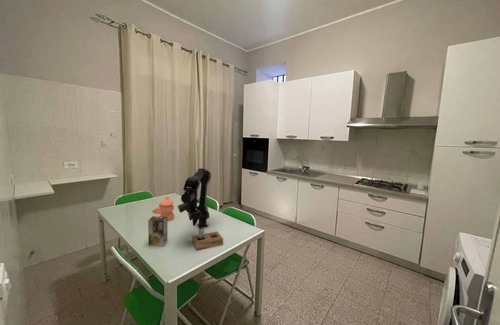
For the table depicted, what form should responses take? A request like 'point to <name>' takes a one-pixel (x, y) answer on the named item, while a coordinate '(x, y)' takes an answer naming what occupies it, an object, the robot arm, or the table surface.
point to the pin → (201, 234)
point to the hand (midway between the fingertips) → (192, 222)
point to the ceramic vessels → (165, 209)
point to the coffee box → (157, 231)
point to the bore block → (207, 241)
